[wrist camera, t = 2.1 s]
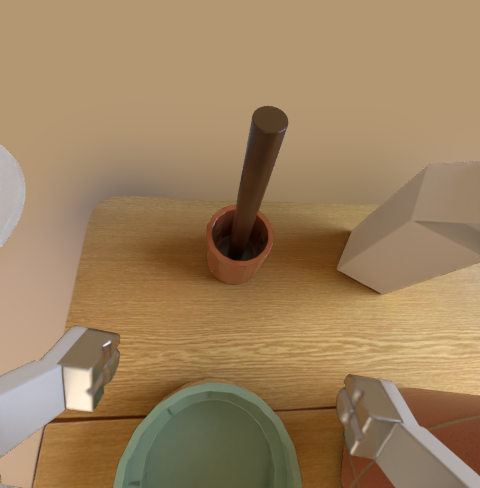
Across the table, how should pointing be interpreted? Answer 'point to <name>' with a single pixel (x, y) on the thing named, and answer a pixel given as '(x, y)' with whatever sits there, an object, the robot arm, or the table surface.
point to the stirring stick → (254, 178)
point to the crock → (221, 230)
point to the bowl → (210, 442)
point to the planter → (437, 423)
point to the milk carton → (419, 230)
